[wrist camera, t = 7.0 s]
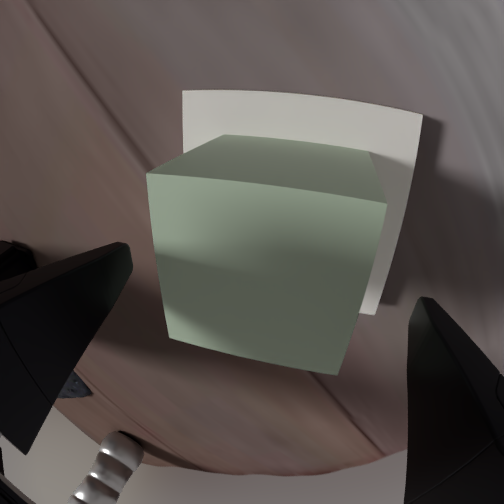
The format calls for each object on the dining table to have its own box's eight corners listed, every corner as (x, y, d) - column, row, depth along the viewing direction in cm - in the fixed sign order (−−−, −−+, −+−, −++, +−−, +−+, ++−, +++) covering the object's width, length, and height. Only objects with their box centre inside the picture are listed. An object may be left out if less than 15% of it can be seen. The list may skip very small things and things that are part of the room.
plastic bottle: (117, 423, 37) (54, 527, 21) (155, 448, 38) (100, 552, 22) (106, 428, 41) (51, 519, 24) (140, 451, 42) (90, 543, 25)
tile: (373, 300, 16) (374, 315, 15) (199, 269, 18) (191, 280, 17) (416, 112, 11) (422, 114, 10) (194, 89, 13) (182, 90, 12)
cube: (344, 276, 15) (337, 375, 10) (224, 255, 16) (169, 337, 11) (367, 151, 12) (387, 203, 7) (223, 134, 13) (146, 173, 8)
